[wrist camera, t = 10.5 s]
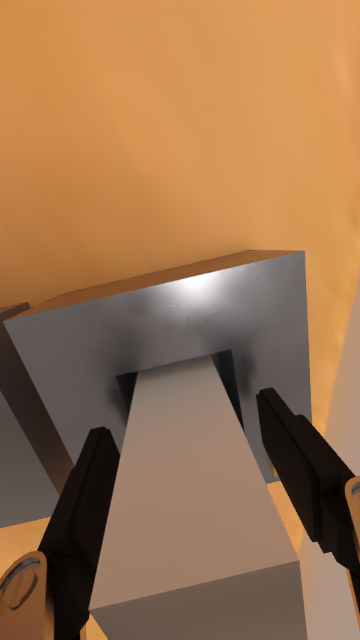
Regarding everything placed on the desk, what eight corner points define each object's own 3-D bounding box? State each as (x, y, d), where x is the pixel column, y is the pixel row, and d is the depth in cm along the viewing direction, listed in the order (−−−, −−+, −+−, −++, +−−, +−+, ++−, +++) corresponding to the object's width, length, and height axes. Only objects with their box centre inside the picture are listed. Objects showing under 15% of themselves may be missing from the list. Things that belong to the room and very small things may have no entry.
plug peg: (143, 345, 16) (88, 610, 4) (199, 331, 16) (298, 559, 4) (158, 392, 17) (147, 696, 5) (210, 380, 17) (309, 658, 5)
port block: (63, 293, 15) (-7, 325, 9) (251, 249, 15) (312, 250, 9) (120, 440, 19) (100, 531, 13) (269, 405, 19) (319, 481, 13)
